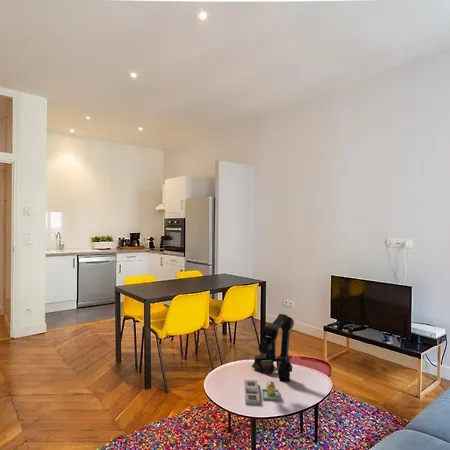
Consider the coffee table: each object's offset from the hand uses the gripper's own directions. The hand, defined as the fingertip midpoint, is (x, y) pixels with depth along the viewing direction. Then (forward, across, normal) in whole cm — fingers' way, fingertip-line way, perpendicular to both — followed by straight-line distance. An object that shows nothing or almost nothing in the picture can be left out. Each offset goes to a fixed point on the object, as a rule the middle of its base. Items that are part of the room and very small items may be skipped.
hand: (270, 374), depth 209 cm
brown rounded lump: (+12, 0, -35) cm, 37 cm away
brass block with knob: (+11, 0, +2) cm, 11 cm away
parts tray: (+12, 0, +2) cm, 12 cm away
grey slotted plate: (+12, +11, 0) cm, 16 cm away
